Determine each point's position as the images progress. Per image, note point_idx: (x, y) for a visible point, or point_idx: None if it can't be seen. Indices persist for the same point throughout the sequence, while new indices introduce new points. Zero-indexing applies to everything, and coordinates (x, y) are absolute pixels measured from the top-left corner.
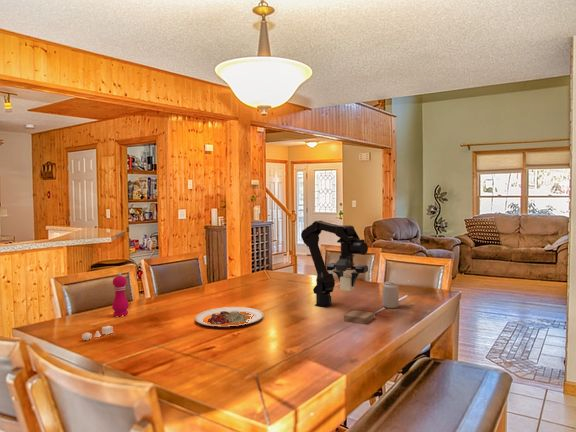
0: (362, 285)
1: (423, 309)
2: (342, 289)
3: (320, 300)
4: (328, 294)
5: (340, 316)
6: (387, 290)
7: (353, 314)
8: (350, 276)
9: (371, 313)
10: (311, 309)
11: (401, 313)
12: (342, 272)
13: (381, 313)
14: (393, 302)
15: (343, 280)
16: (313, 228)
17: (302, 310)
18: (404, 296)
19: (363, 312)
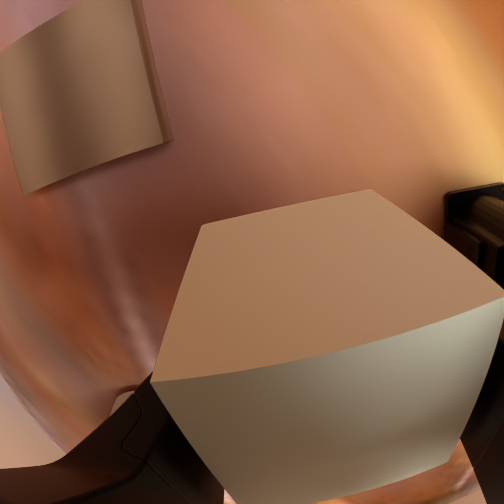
0: (410, 492)
1: (58, 423)
2: (335, 198)
3: (502, 202)
4: (492, 260)
5: (231, 55)
6: None
7: (85, 47)
8: (294, 486)
9: (22, 167)
10: (483, 100)
11: (45, 349)
12: (500, 482)
13: (89, 299)
14: (110, 415)
15: (371, 277)
16: None
17: (500, 57)
18: (227, 499)
19: (66, 145)
